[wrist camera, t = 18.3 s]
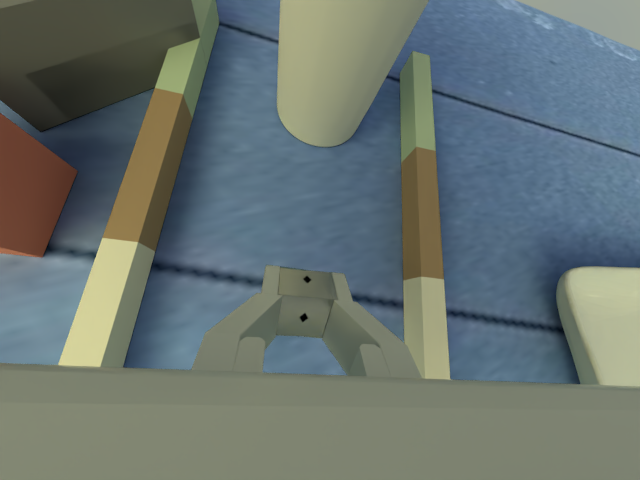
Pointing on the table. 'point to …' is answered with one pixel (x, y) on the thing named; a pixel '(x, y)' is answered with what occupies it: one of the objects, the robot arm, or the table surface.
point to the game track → (156, 188)
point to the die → (29, 191)
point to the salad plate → (602, 323)
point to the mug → (337, 62)
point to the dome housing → (84, 53)
